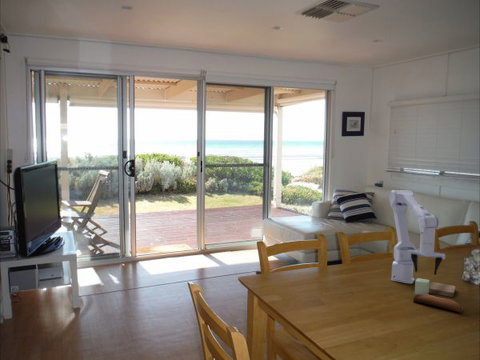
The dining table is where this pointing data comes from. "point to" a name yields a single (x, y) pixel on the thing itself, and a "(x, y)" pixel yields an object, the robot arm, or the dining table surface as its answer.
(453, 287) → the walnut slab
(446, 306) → the sunglasses case
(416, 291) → the green block
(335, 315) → the dining table surface
